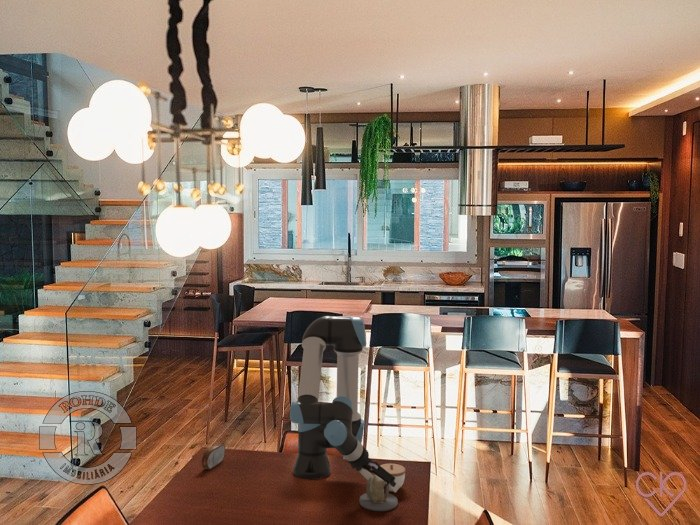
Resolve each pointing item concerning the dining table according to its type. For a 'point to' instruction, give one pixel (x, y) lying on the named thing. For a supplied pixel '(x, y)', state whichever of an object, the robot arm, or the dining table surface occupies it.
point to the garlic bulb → (377, 489)
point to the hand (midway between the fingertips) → (383, 483)
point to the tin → (213, 456)
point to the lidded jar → (395, 473)
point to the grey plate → (386, 506)
